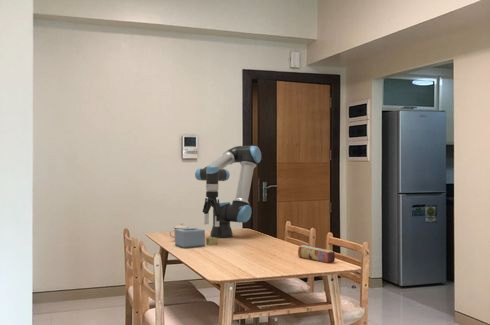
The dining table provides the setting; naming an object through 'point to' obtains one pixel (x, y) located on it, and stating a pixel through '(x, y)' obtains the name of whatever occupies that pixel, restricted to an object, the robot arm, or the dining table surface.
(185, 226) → the teacup with lid
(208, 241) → the rectangular block
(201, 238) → the grey box with opening
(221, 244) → the dining table surface
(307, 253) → the snack package
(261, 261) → the dining table surface
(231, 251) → the dining table surface
